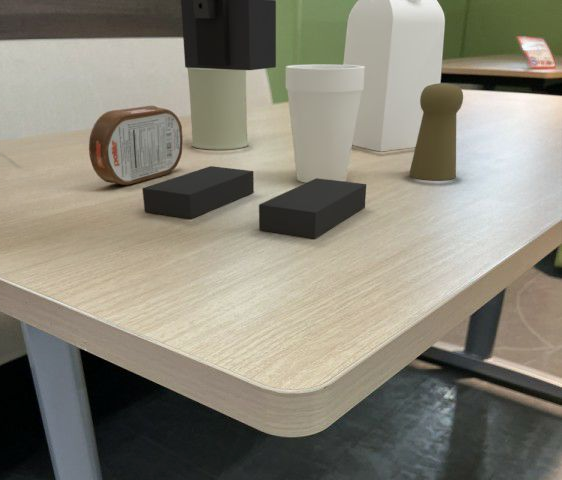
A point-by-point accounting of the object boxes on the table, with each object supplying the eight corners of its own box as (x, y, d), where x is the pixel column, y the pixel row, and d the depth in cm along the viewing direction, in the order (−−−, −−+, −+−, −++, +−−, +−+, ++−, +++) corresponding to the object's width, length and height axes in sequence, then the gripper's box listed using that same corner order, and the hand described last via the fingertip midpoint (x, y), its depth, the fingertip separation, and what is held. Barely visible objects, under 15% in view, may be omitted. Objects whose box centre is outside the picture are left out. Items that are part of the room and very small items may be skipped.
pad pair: (144, 211, 66) (141, 188, 65) (211, 187, 76) (210, 165, 75) (314, 239, 58) (315, 212, 57) (365, 207, 68) (366, 183, 67)
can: (187, 141, 105) (181, 61, 99) (240, 139, 107) (238, 61, 101) (198, 151, 97) (192, 65, 91) (255, 148, 100) (253, 64, 94)
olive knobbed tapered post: (455, 171, 85) (467, 82, 79) (456, 181, 79) (469, 86, 74) (410, 169, 86) (419, 81, 80) (408, 179, 81) (417, 85, 75)
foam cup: (311, 190, 75) (314, 70, 69) (271, 176, 82) (270, 65, 75) (373, 181, 79) (381, 67, 73) (330, 168, 86) (334, 63, 80)
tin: (171, 167, 86) (165, 101, 82) (189, 169, 85) (184, 102, 81) (92, 189, 75) (81, 114, 71) (111, 192, 74) (101, 116, 70)
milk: (388, 135, 112) (403, -40, 99) (435, 144, 103) (458, -45, 90) (335, 141, 106) (343, -44, 93) (380, 151, 97) (396, -50, 85)
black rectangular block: (184, 67, 53) (180, -1, 51) (213, 64, 57) (210, 1, 54) (249, 70, 51) (248, -2, 48) (276, 67, 54) (276, 0, 52)
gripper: (187, -405, 34) (209, 71, 45) (324, -285, 47) (314, 60, 59) (84, -371, 37) (129, 67, 49) (239, -267, 50) (246, 57, 62)
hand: (230, 63), depth 54 cm, fingers closed on black rectangular block, 4 cm apart
